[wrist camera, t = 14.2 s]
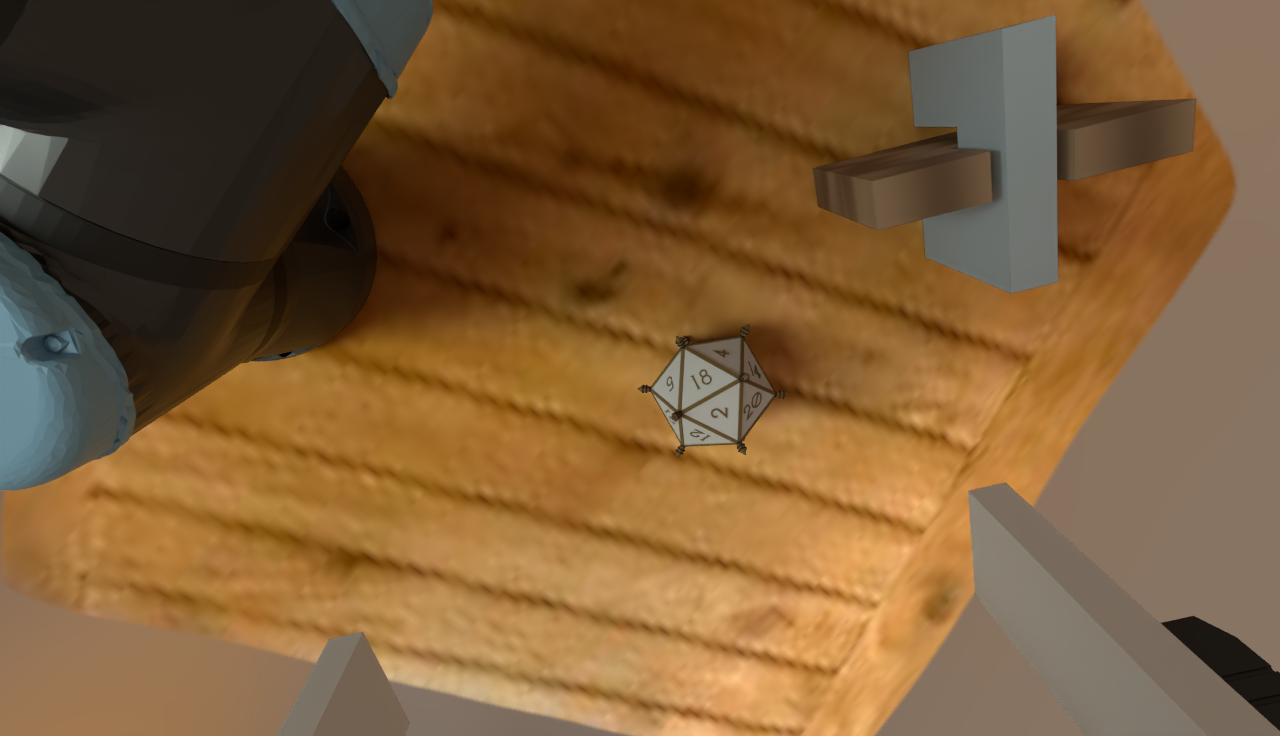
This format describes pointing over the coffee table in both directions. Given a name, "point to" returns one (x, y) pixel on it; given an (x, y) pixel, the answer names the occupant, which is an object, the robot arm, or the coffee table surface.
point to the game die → (713, 392)
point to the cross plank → (997, 150)
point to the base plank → (962, 178)
